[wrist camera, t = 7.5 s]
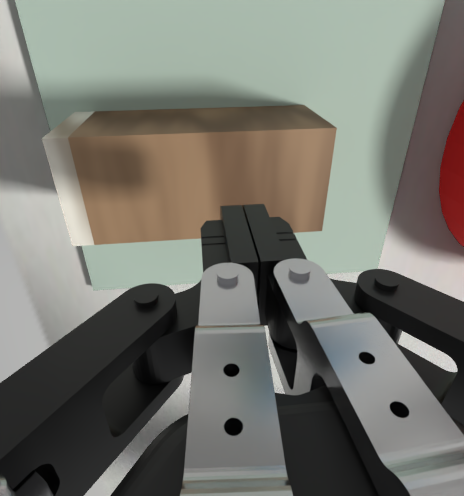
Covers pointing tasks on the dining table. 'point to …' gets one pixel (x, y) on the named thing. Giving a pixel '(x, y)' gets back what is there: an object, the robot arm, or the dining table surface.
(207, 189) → the wooden block
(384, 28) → the mat
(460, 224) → the toy clock
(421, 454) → the robot arm
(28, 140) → the dining table surface
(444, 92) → the dining table surface
